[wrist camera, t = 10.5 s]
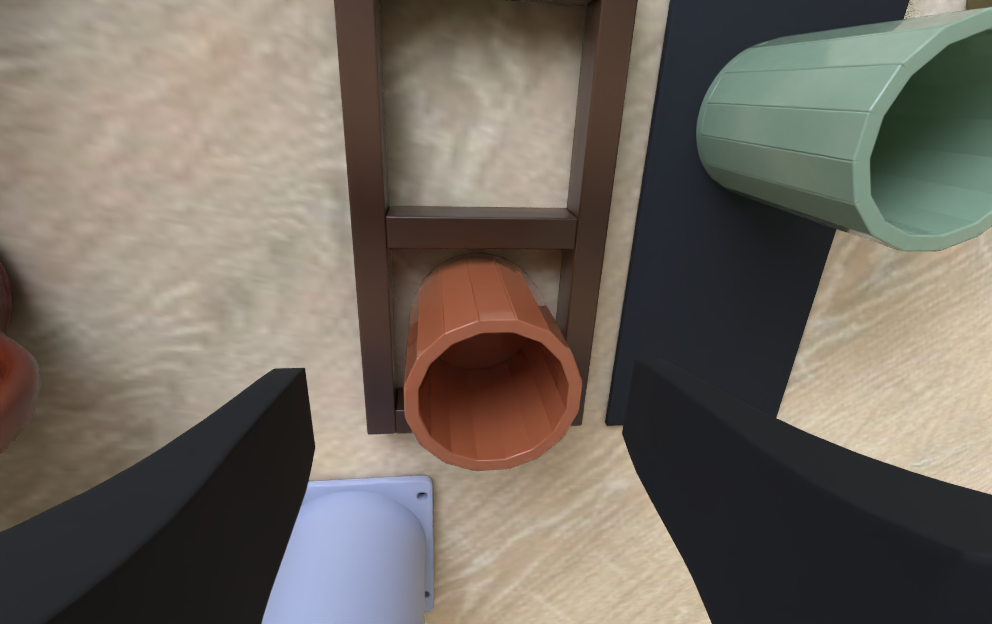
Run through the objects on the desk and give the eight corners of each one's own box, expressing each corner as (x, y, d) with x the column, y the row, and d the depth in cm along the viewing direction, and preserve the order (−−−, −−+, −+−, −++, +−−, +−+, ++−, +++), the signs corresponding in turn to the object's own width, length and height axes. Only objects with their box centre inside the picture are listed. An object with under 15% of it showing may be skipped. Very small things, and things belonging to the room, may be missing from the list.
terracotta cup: (535, 369, 23) (572, 466, 17) (412, 373, 22) (407, 475, 17) (545, 253, 21) (591, 318, 15) (409, 252, 20) (400, 321, 14)
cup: (809, 195, 21) (1011, 252, 14) (682, 193, 20) (825, 251, 13) (853, 43, 19) (1123, 15, 11) (712, 34, 18) (904, -2, 11)
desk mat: (772, 415, 26) (776, 418, 26) (604, 422, 25) (606, 426, 25) (919, -51, 18) (926, -53, 18) (680, -72, 17) (685, -75, 17)
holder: (571, 403, 24) (582, 426, 23) (371, 410, 23) (367, 435, 21) (623, -33, 17) (644, -46, 15) (338, -55, 16) (327, -72, 14)
